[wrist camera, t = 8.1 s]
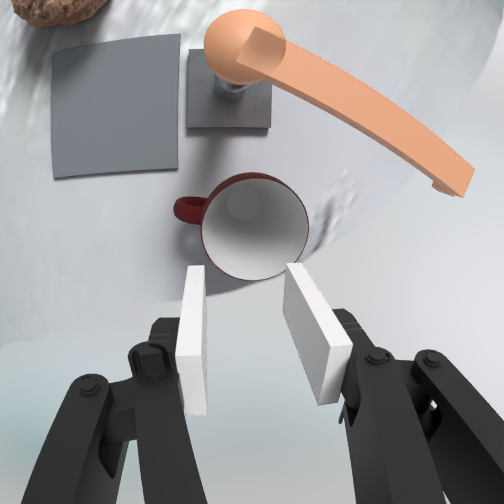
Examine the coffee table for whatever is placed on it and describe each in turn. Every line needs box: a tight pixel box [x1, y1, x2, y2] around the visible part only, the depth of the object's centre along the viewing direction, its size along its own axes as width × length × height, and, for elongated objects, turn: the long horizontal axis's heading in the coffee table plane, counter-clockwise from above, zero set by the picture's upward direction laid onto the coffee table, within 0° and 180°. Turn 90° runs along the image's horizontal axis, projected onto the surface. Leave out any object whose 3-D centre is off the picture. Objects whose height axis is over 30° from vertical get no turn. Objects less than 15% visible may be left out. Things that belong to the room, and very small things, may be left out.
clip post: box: [187, 49, 272, 128], centre depth 22 cm, size 8×8×14 cm
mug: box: [173, 172, 309, 281], centre depth 28 cm, size 10×8×10 cm
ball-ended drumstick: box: [204, 9, 475, 198], centre depth 16 cm, size 4×19×4 cm, turn 66°
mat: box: [51, 34, 181, 178], centre depth 27 cm, size 14×14×1 cm
